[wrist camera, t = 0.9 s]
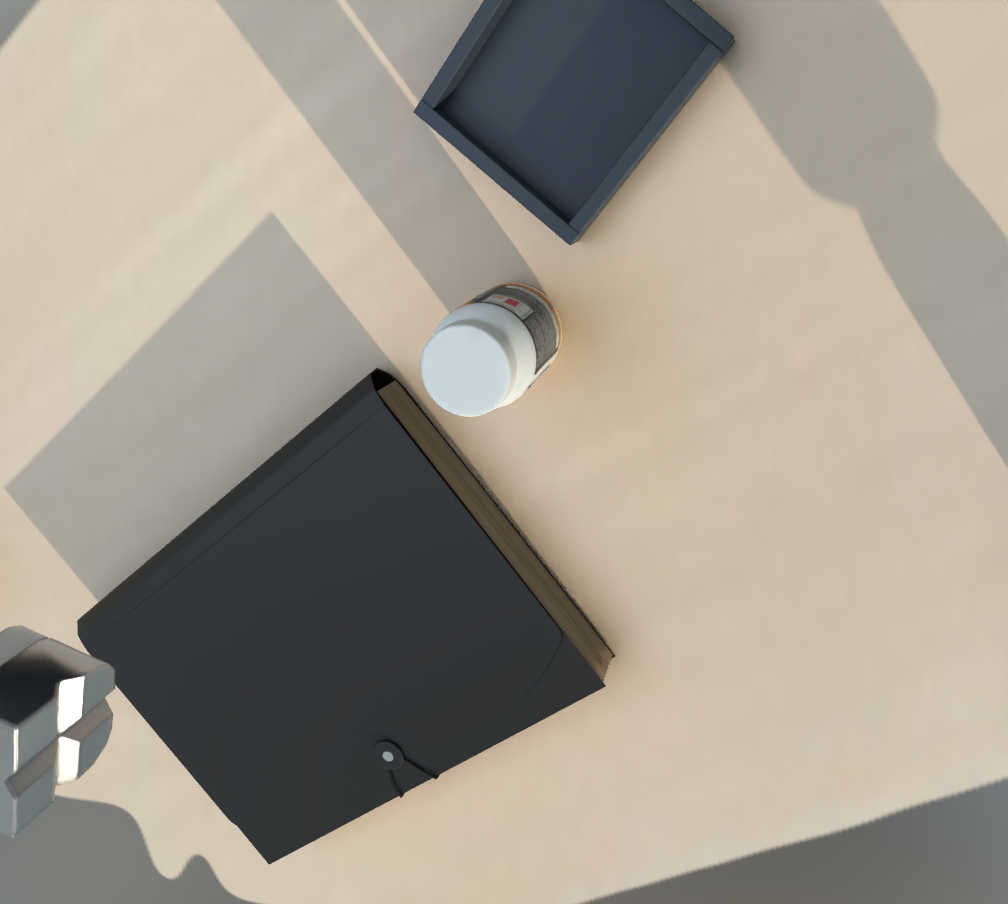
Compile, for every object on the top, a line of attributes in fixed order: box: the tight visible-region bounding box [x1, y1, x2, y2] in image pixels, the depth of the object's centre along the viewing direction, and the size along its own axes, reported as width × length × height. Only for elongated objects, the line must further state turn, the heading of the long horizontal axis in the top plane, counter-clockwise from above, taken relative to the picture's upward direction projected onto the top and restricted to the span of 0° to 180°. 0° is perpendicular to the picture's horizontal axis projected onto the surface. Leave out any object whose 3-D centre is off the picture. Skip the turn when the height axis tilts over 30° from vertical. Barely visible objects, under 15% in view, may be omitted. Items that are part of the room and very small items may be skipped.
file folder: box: [77, 368, 615, 864], centre depth 60 cm, size 33×4×24 cm
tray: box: [414, 0, 735, 245], centre depth 44 cm, size 13×11×2 cm
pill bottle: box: [421, 283, 562, 417], centre depth 46 cm, size 6×6×10 cm
